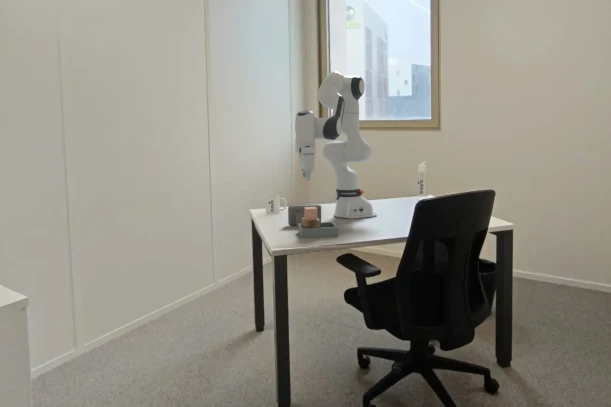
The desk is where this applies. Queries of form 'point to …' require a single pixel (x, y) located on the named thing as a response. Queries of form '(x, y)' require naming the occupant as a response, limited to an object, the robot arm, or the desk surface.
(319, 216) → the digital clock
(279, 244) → the desk surface
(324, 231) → the tote
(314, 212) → the light cube
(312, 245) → the desk surface
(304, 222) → the block
